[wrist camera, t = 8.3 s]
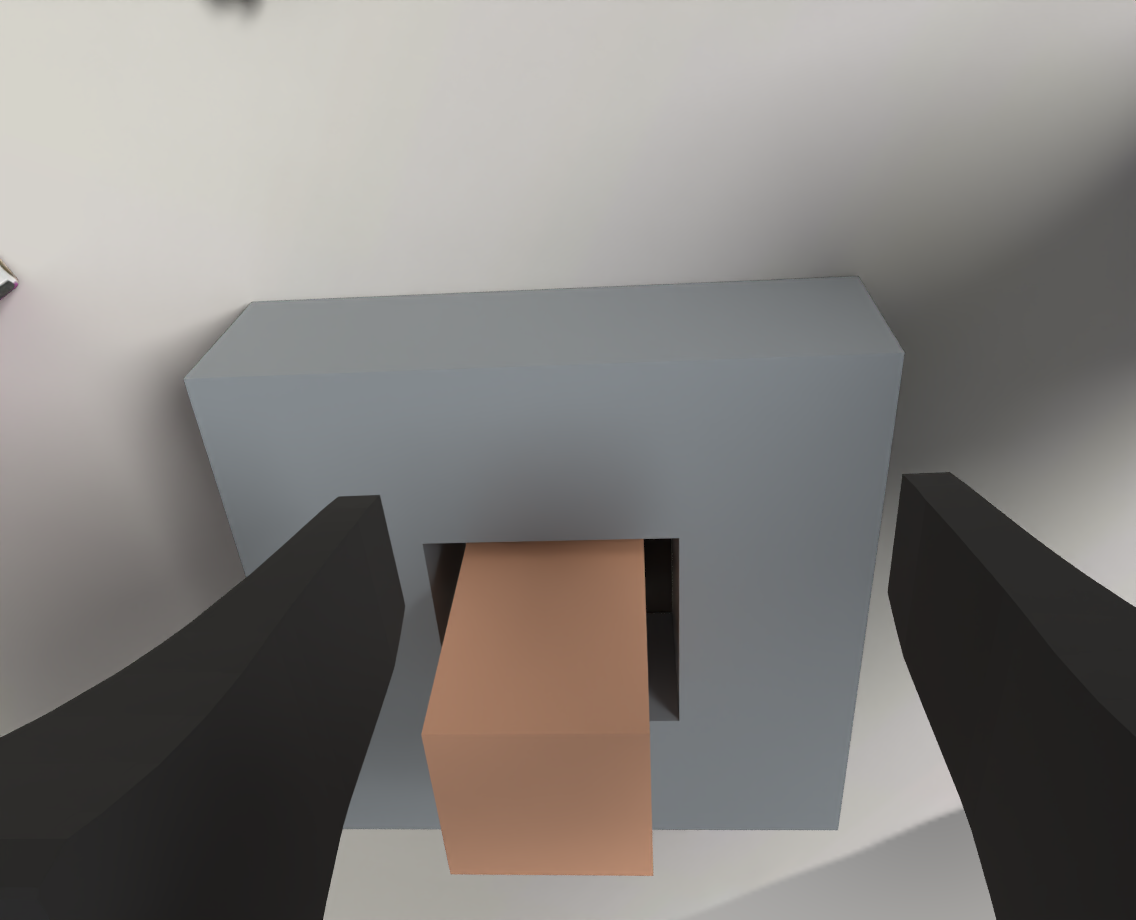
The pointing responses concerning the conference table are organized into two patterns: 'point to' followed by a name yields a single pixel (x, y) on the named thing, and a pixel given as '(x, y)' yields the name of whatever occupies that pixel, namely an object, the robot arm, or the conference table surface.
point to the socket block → (596, 498)
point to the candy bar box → (6, 280)
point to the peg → (544, 712)
